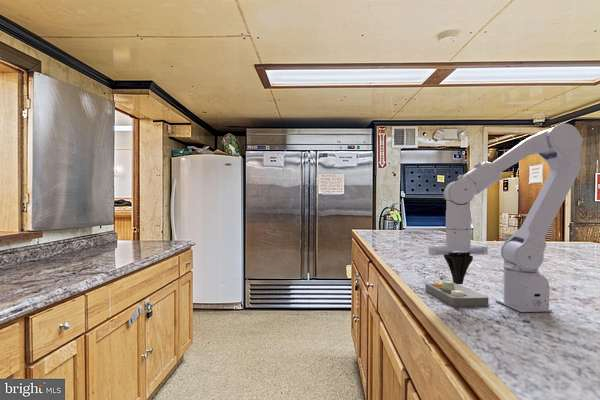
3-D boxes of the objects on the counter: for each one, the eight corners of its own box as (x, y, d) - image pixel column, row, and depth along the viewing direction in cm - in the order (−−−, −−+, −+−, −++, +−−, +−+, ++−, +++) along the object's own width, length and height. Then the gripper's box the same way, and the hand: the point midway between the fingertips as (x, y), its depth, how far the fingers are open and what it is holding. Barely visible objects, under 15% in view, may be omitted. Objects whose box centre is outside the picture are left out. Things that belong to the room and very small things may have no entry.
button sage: (456, 292, 96) (456, 283, 96) (445, 292, 96) (445, 283, 96) (450, 289, 99) (450, 280, 99) (440, 290, 99) (440, 281, 99)
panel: (488, 305, 90) (488, 297, 90) (453, 306, 89) (453, 298, 89) (455, 290, 105) (455, 283, 105) (425, 291, 104) (425, 283, 104)
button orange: (447, 293, 101) (447, 284, 101) (437, 293, 100) (437, 284, 100) (442, 290, 104) (442, 282, 104) (432, 290, 103) (432, 282, 103)
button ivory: (466, 302, 92) (466, 293, 92) (454, 303, 92) (454, 293, 91) (459, 299, 95) (459, 290, 95) (448, 299, 94) (448, 290, 94)
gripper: (476, 227, 98) (476, 279, 98) (423, 227, 96) (423, 280, 96) (493, 229, 91) (492, 285, 91) (436, 230, 89) (436, 287, 89)
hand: (457, 283), depth 93 cm, fingers closed
